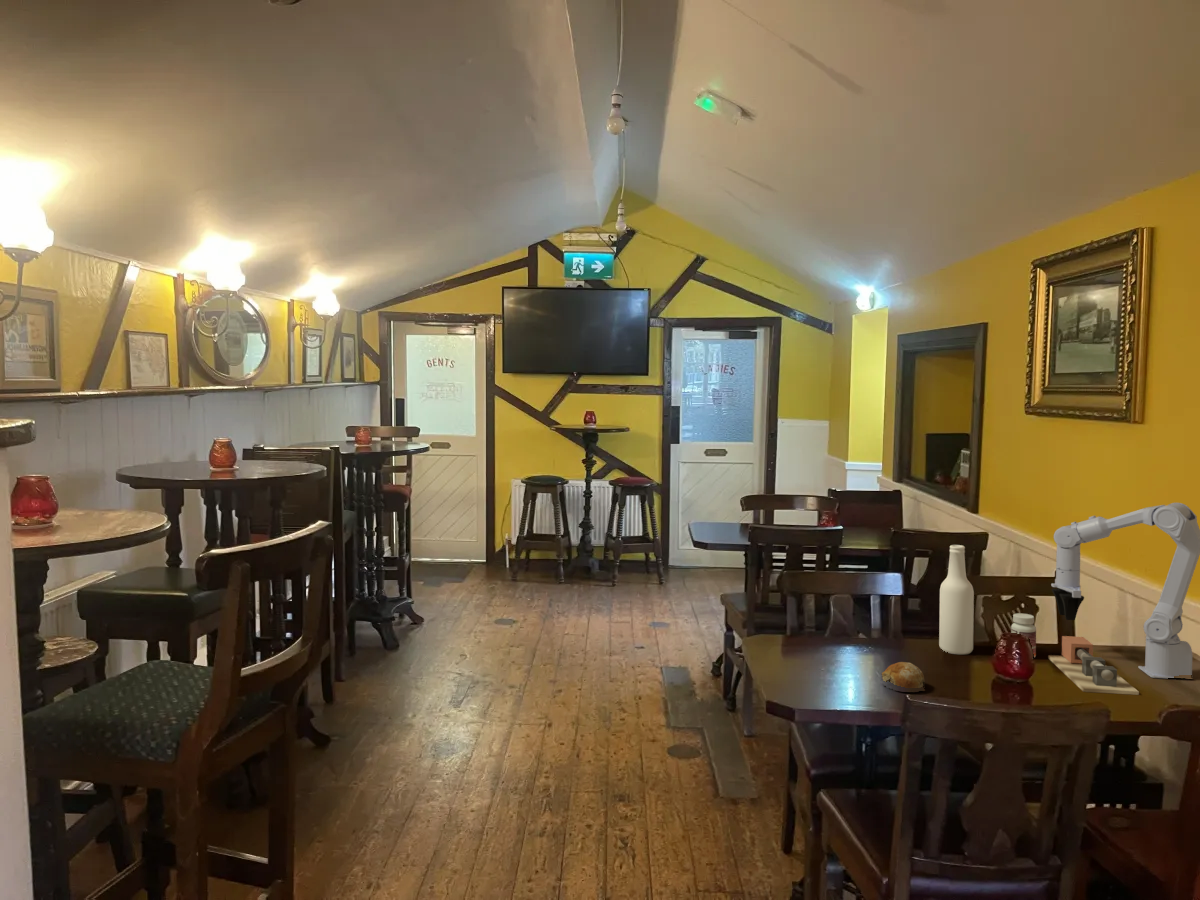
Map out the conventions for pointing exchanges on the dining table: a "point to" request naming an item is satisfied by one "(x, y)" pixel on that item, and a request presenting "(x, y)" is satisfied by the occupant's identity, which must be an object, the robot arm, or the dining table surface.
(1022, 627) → the pill bottle
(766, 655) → the dining table surface
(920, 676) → the bread roll
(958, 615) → the alcohol
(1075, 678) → the shaft rig
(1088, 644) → the terracotta arch block
